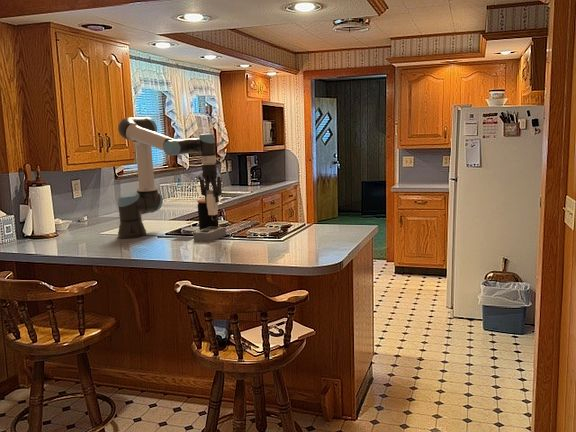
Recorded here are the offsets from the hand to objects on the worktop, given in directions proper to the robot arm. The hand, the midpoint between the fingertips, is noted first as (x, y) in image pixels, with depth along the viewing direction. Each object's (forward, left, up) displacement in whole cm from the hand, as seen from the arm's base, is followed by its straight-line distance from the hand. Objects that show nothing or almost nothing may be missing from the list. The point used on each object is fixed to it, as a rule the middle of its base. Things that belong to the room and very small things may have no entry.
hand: (212, 208), depth 292 cm
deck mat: (-13, -8, -16) cm, 22 cm away
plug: (0, 0, -3) cm, 3 cm away
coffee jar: (-11, +13, -16) cm, 23 cm away
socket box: (0, -4, -16) cm, 16 cm away
